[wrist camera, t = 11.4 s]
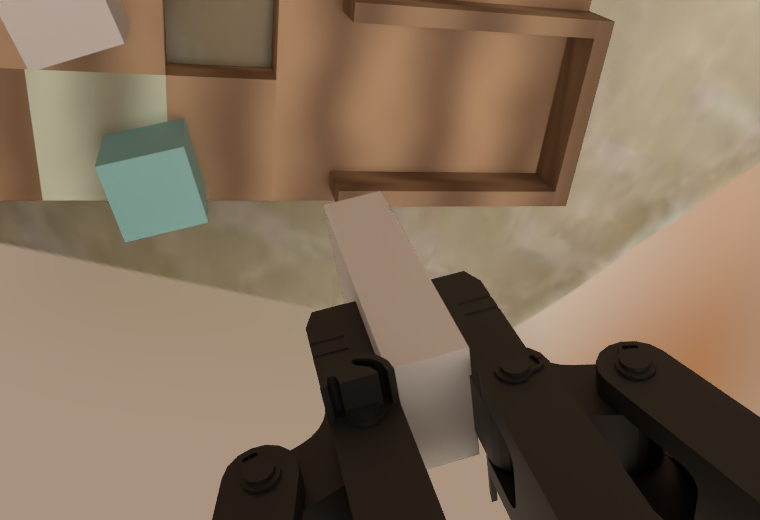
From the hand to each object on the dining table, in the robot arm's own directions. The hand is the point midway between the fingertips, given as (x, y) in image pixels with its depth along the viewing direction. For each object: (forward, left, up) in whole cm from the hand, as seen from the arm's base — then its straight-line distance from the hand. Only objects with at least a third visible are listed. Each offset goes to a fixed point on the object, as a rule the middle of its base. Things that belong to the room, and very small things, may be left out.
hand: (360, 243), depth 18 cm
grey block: (-10, +2, -24) cm, 26 cm away
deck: (+2, -3, -26) cm, 27 cm away
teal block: (-6, -8, -24) cm, 26 cm away
